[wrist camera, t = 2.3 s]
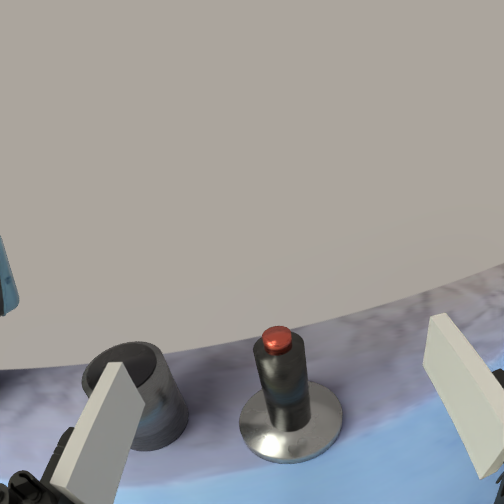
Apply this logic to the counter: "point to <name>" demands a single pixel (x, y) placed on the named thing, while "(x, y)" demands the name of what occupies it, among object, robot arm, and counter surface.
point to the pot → (145, 392)
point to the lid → (288, 404)
